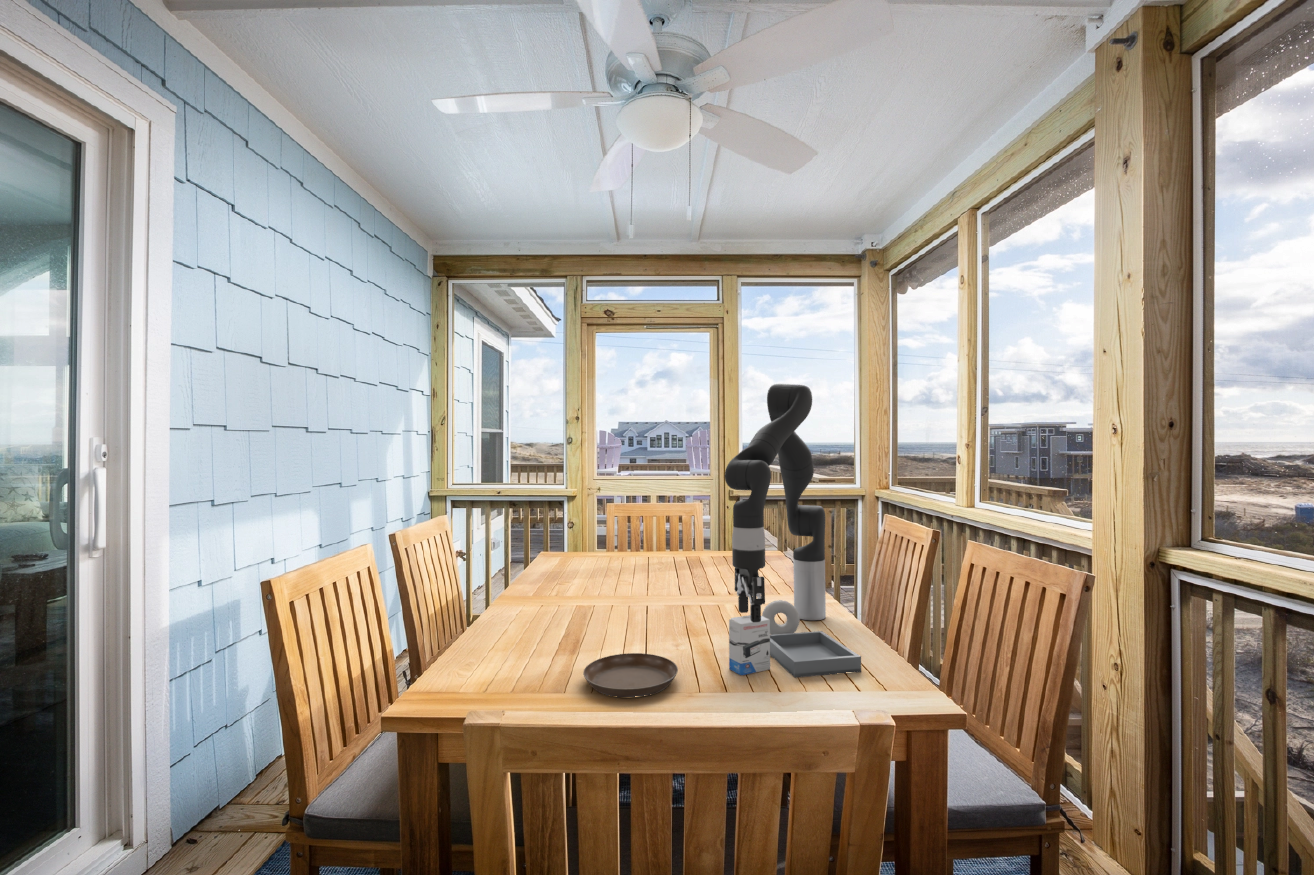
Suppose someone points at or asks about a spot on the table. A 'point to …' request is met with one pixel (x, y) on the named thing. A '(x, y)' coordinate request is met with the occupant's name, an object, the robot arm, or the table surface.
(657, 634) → the table surface
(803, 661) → the tray
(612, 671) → the plant saucer
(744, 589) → the robot arm
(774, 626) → the donut
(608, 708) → the table surface
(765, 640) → the ink box
